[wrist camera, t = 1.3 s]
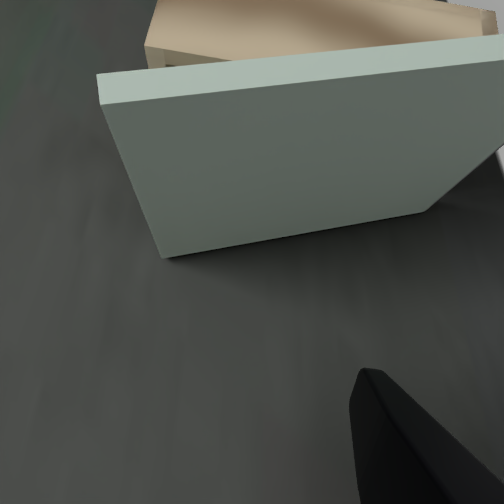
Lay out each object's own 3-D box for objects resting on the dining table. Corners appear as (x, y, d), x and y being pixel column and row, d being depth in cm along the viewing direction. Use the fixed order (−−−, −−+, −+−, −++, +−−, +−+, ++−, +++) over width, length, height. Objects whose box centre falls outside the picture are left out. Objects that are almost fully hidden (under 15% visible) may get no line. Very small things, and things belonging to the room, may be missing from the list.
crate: (417, 195, 24) (508, 108, 17) (166, 155, 24) (144, 45, 16) (415, 119, 26) (495, 11, 19) (184, 80, 26) (172, -48, 18)
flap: (430, 210, 24) (627, 45, 12) (161, 258, 21) (100, 104, 10) (425, 196, 24) (611, 23, 13) (158, 241, 21) (96, 74, 10)
